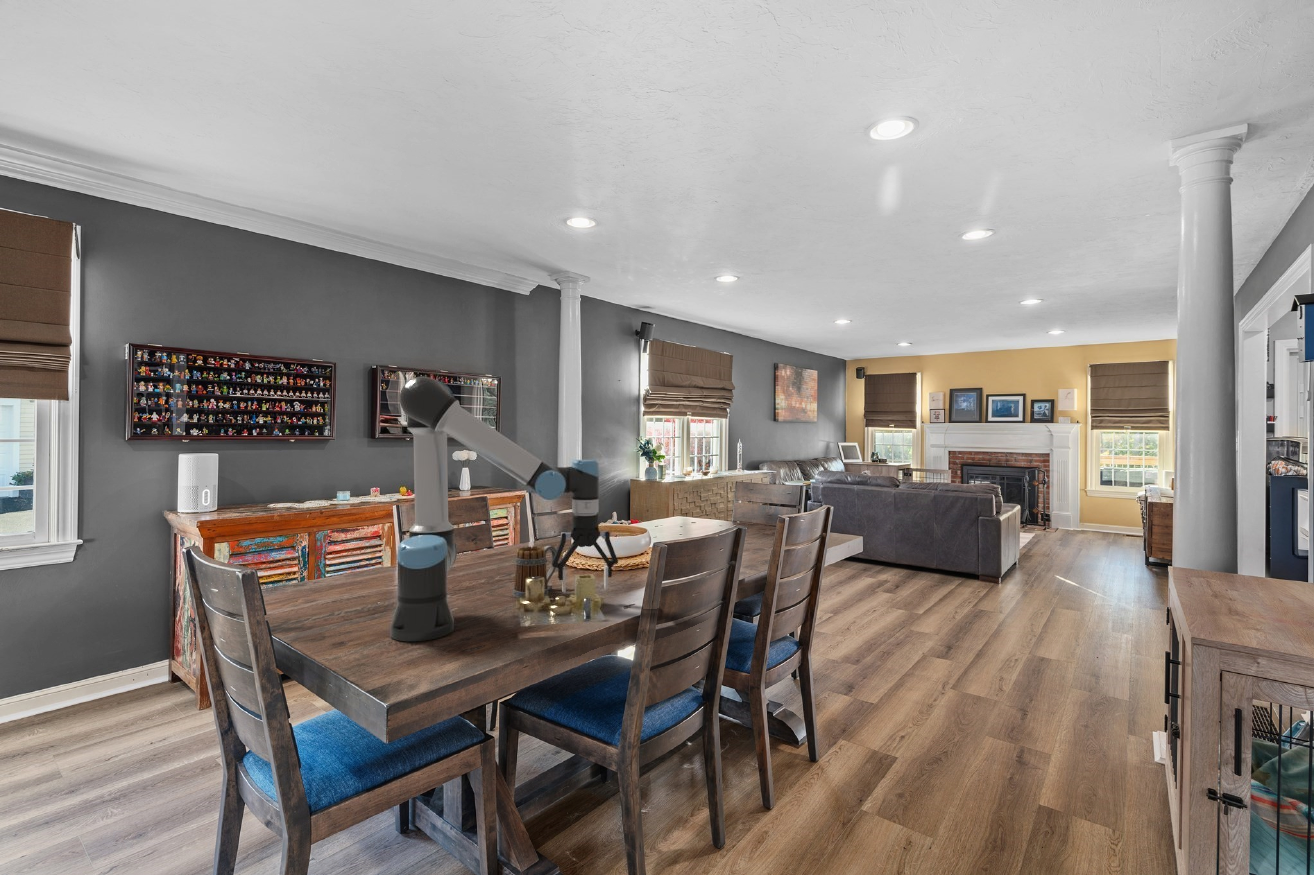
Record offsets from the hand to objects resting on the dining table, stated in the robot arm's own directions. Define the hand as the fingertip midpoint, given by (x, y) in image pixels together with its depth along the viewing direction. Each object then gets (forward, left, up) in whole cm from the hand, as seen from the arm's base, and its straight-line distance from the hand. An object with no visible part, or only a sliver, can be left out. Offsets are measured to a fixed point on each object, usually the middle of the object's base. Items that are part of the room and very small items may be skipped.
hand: (585, 590), depth 175 cm
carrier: (-8, -5, -5) cm, 11 cm away
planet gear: (0, 0, -4) cm, 4 cm away
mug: (-13, +17, -6) cm, 21 cm away
